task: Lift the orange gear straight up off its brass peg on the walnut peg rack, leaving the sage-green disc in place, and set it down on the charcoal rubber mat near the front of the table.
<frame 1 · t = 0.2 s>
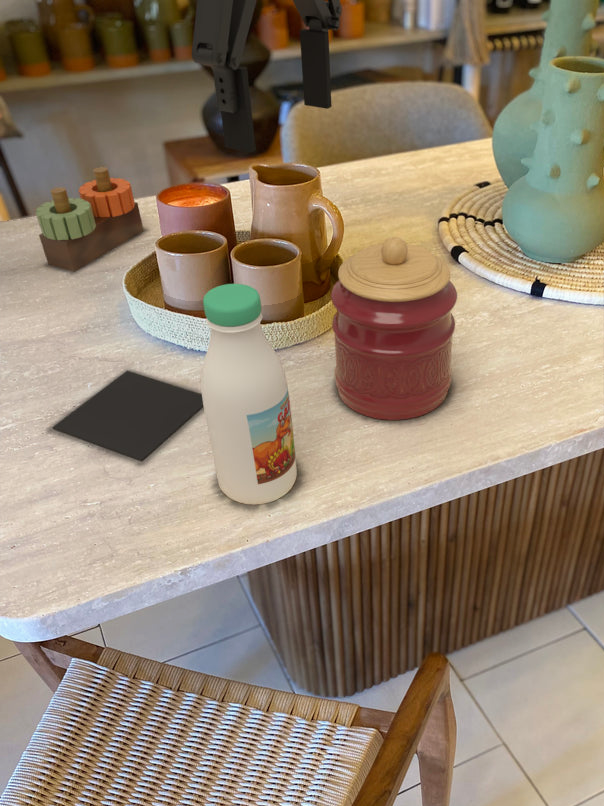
hand: (281, 126, 72), 27 cm above the table, tool pointing down, fingers open, 13 cm apart
green disc: (69, 229, 108), point 4 cm above the table, touching peg rack
mat: (134, 414, 83), on the table
kitchen canister: (392, 389, 87), on the table
milk bottle: (258, 481, 76), on the table
orange gear: (109, 207, 113), point 4 cm above the table, touching peg rack
peg rack: (97, 247, 114), on the table
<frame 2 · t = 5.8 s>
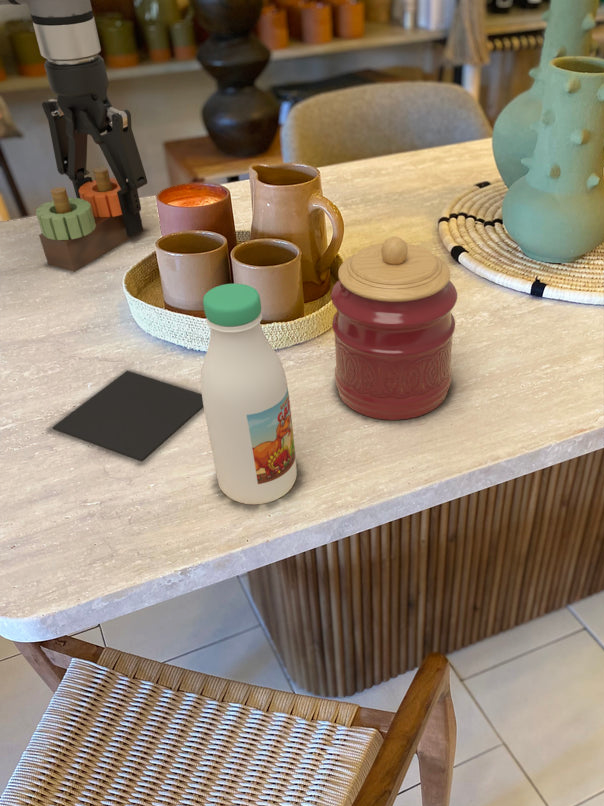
hand: (114, 227, 115), 1 cm above the table, tool pointing down, fingers closed on orange gear, 7 cm apart
orange gear: (109, 207, 113), point 5 cm above the table, touching gripper, peg rack
everything else where it was.
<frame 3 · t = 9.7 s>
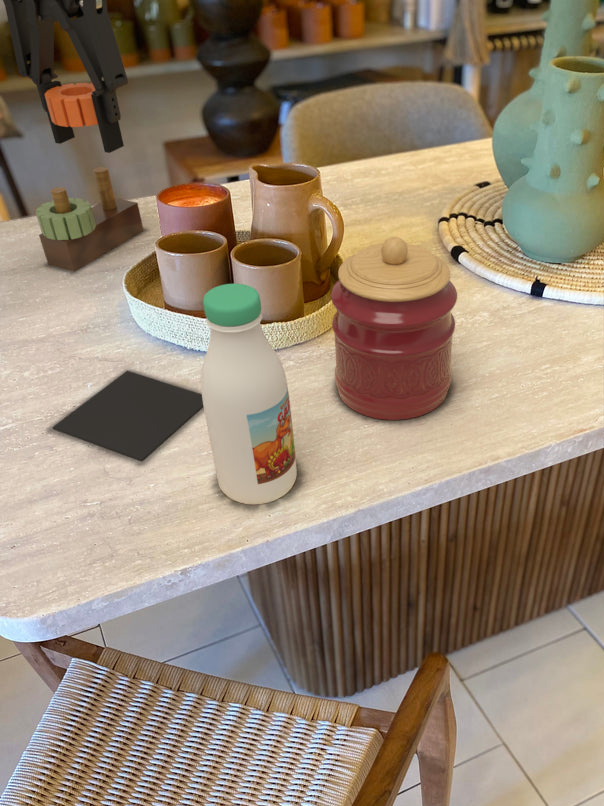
hand: (89, 144, 96), 17 cm above the table, tool pointing down, fingers closed on orange gear, 7 cm apart
orange gear: (82, 117, 94), point 20 cm above the table, touching gripper
everything else where it was.
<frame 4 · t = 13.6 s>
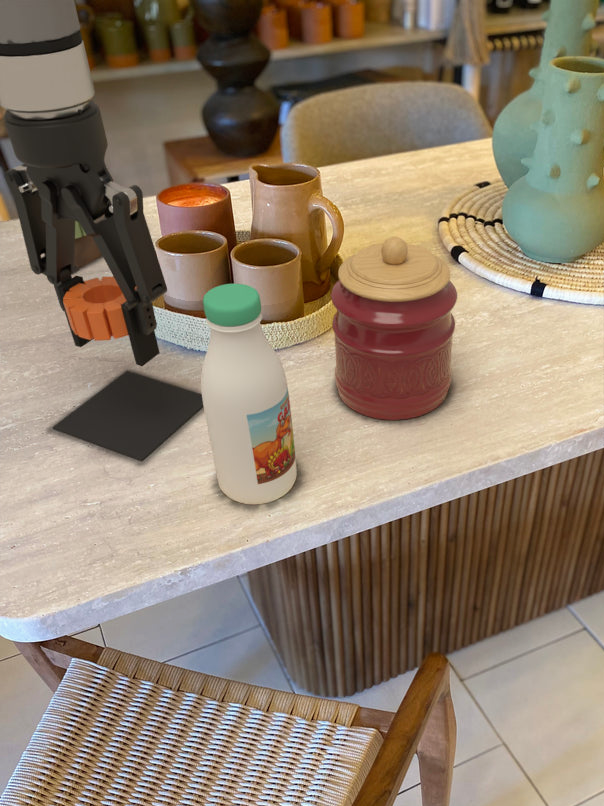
hand: (117, 349, 78), 8 cm above the table, tool pointing down, fingers closed on orange gear, 7 cm apart
orange gear: (109, 321, 76), point 11 cm above the table, touching gripper
everything else where it was.
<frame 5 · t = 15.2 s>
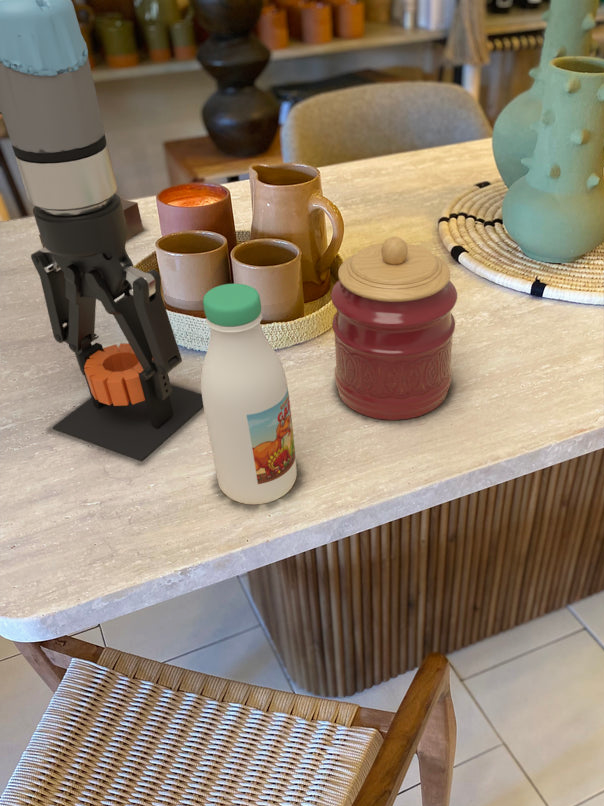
hand: (133, 410, 83), 1 cm above the table, tool pointing down, fingers closed on orange gear, 7 cm apart
orange gear: (127, 385, 81), point 4 cm above the table, touching gripper
everything else where it was.
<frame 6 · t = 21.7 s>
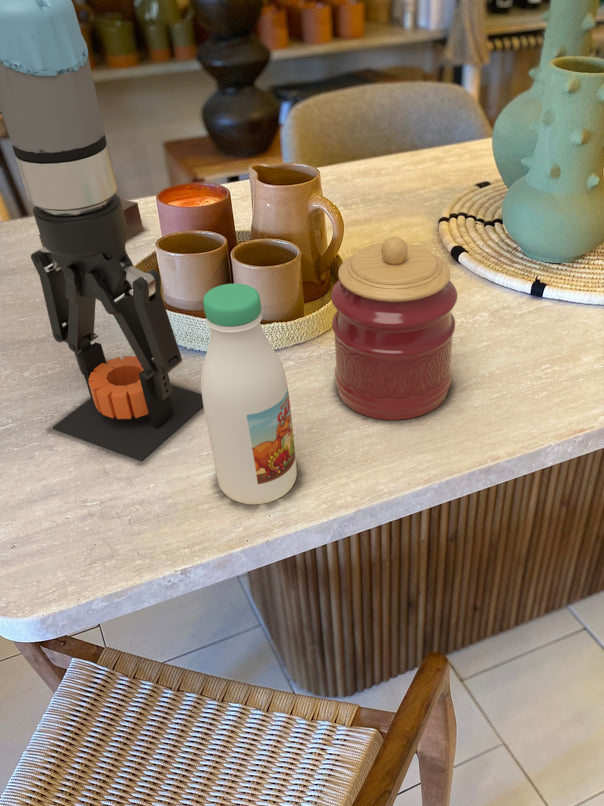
hand: (133, 409, 83), 1 cm above the table, tool pointing down, fingers closed on orange gear, 7 cm apart
orange gear: (130, 398, 82), point 2 cm above the table, touching gripper
everything else where it was.
when the fingers open (2 cm above the table, at t = 22.1 s): orange gear drops 3 cm, resting on mat.
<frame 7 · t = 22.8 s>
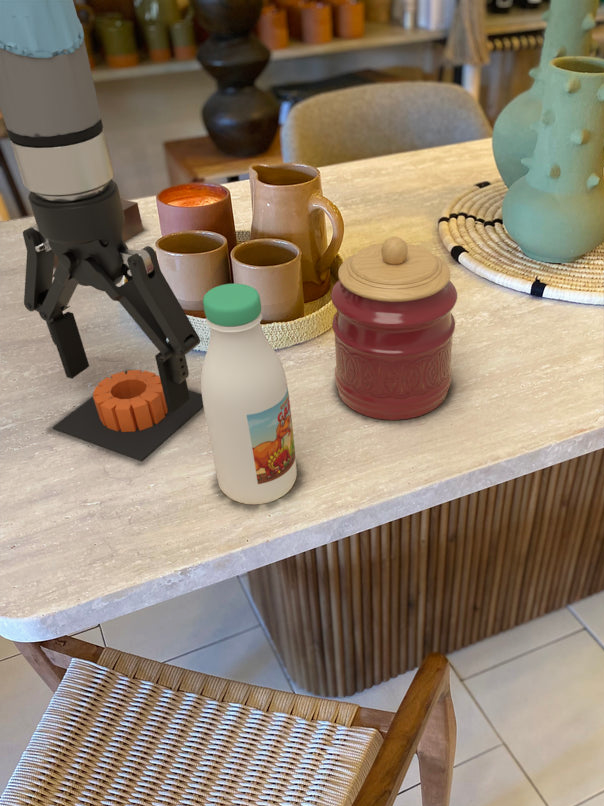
hand: (127, 388, 81), 4 cm above the table, tool pointing down, fingers open, 13 cm apart
orange gear: (134, 411, 83), resting on mat
everything else where it was.
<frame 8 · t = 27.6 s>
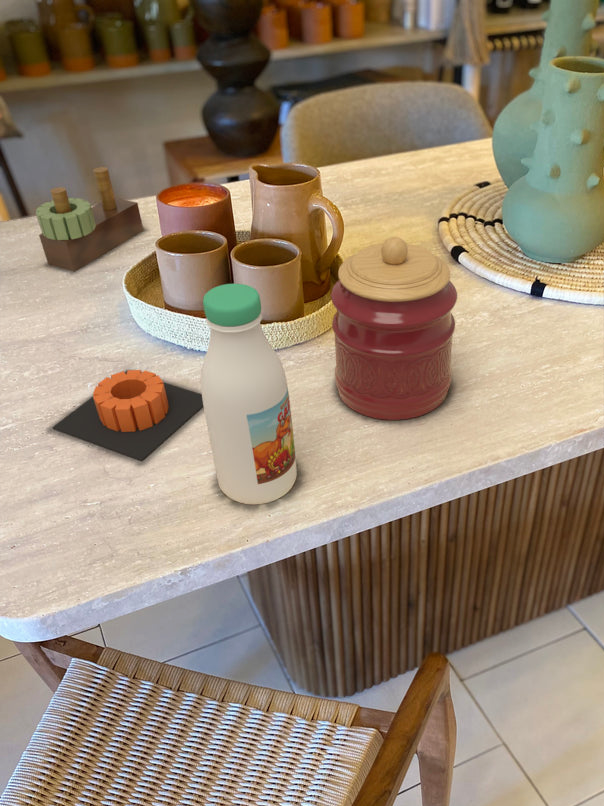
nothing on the table moved.
at the end: orange gear inside the target area on the mat (0.1 cm from its centre), point 0.4 cm above the mat's base; green disc moved 0.0 cm from its start; the gripper is holding nothing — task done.
